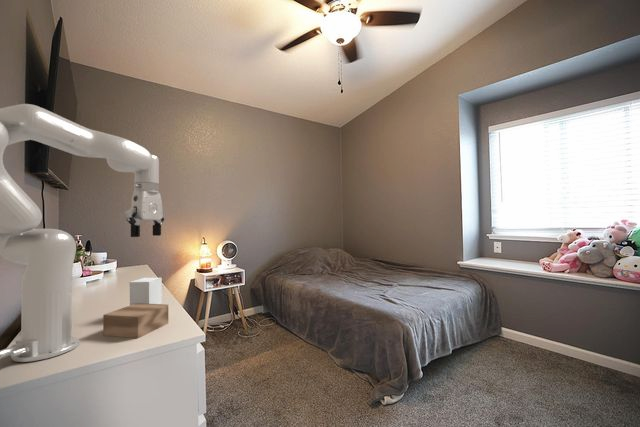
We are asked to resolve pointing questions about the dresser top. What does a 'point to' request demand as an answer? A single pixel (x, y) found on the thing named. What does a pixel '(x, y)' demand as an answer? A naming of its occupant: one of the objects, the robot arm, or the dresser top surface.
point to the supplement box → (146, 291)
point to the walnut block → (135, 320)
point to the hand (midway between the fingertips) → (146, 236)
